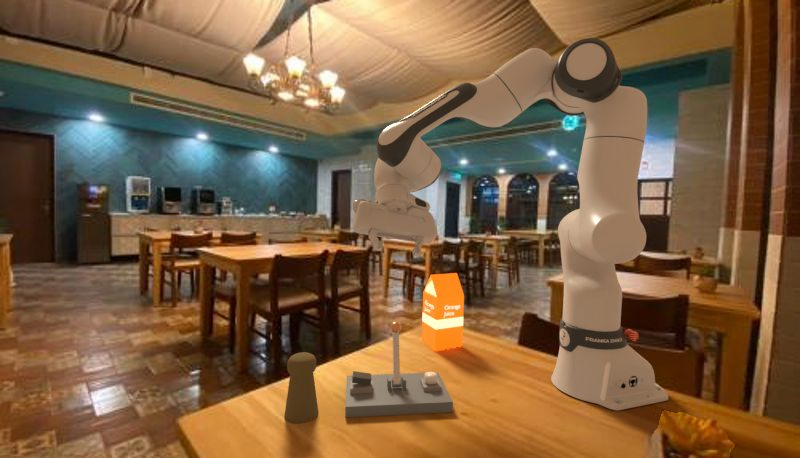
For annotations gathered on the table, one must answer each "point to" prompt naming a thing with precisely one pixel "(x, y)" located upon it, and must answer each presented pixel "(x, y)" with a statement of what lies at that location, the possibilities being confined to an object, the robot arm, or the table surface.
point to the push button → (430, 378)
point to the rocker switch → (361, 378)
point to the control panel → (396, 396)
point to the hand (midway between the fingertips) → (398, 252)
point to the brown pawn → (301, 389)
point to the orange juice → (443, 312)
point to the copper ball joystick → (396, 355)
